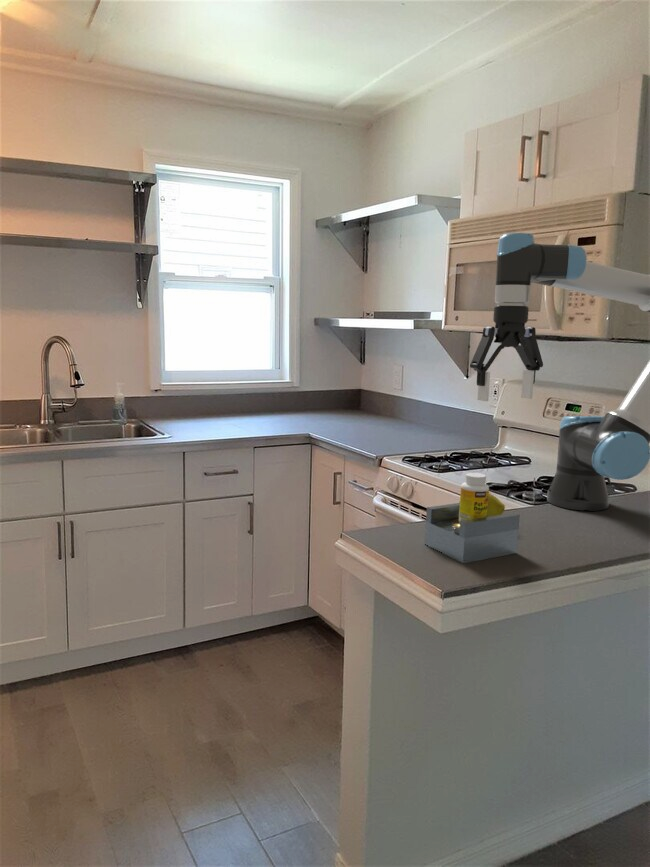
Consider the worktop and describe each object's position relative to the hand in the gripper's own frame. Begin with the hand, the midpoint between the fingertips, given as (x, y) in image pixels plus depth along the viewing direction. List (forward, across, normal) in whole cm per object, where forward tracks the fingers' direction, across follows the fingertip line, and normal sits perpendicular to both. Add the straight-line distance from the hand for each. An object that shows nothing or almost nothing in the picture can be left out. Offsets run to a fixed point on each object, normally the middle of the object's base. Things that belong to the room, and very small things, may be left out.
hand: (505, 399), depth 155 cm
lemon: (+29, +7, +2) cm, 30 cm away
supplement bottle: (+23, +20, +13) cm, 34 cm away
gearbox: (+28, +20, +13) cm, 37 cm away
